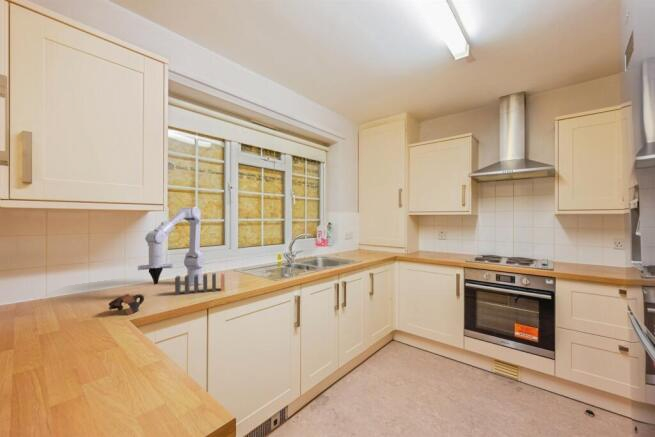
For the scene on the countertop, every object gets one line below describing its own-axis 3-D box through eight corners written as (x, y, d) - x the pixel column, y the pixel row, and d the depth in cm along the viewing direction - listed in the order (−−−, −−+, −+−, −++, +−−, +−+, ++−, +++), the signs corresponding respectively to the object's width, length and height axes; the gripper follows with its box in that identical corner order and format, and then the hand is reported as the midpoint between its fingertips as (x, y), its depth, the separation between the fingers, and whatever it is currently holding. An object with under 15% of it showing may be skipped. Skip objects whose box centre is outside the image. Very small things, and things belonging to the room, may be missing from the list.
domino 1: (176, 292, 142) (176, 276, 142) (180, 292, 142) (180, 275, 142) (175, 295, 137) (175, 278, 137) (179, 294, 138) (178, 277, 137)
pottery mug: (120, 319, 107) (109, 301, 107) (113, 325, 112) (102, 307, 112) (151, 303, 117) (141, 286, 117) (143, 308, 122) (134, 292, 122)
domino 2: (185, 291, 143) (185, 275, 143) (189, 291, 144) (189, 275, 144) (184, 294, 138) (184, 277, 138) (188, 294, 139) (188, 277, 139)
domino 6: (221, 288, 149) (220, 272, 149) (224, 288, 150) (224, 272, 150) (221, 291, 145) (220, 274, 144) (224, 290, 145) (224, 274, 145)
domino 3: (195, 291, 145) (194, 274, 145) (198, 290, 145) (198, 274, 145) (194, 293, 140) (194, 276, 140) (197, 293, 141) (197, 276, 140)
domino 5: (212, 289, 148) (212, 273, 148) (215, 289, 148) (215, 273, 148) (212, 291, 143) (212, 275, 143) (215, 291, 144) (215, 275, 144)
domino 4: (203, 290, 146) (203, 274, 146) (207, 289, 147) (207, 273, 147) (203, 292, 142) (203, 275, 141) (206, 292, 142) (206, 275, 142)
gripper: (135, 257, 130) (136, 287, 130) (171, 256, 135) (171, 284, 135) (139, 255, 136) (140, 283, 136) (173, 254, 141) (173, 281, 142)
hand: (156, 283), depth 136 cm, fingers closed
